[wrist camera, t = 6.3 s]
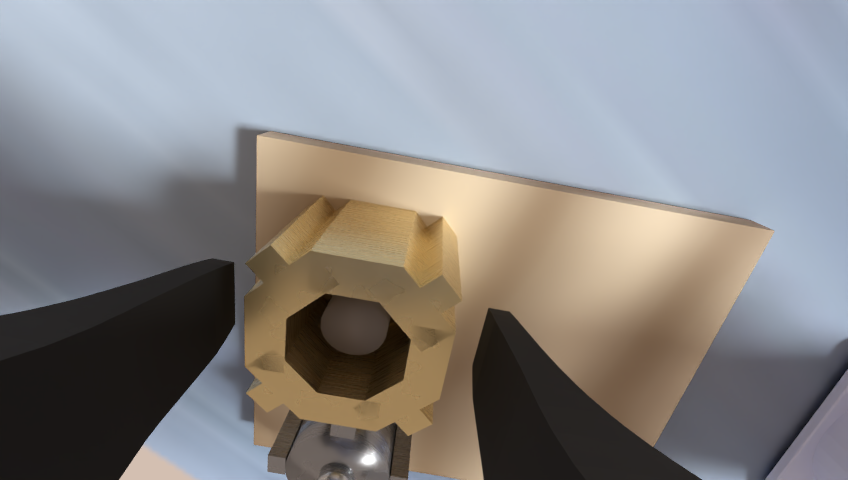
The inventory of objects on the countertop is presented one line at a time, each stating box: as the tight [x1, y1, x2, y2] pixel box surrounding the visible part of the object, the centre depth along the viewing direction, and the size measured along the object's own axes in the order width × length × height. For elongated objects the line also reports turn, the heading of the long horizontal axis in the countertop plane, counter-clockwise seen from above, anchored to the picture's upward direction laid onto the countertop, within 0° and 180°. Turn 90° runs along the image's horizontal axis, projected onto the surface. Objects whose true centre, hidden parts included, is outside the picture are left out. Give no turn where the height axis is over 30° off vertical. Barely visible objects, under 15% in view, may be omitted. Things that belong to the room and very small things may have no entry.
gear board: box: [254, 131, 774, 480], centre depth 13 cm, size 16×13×4 cm
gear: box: [268, 410, 412, 480], centre depth 14 cm, size 5×5×3 cm
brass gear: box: [244, 196, 462, 436], centre depth 11 cm, size 5×5×4 cm
